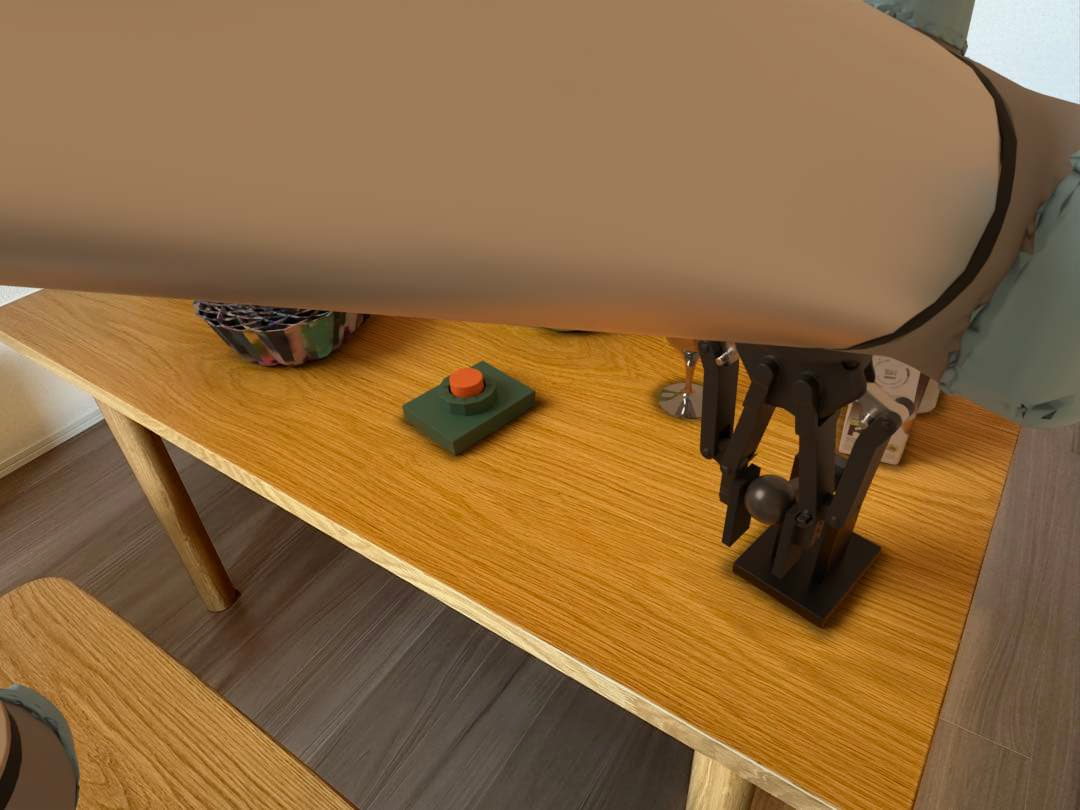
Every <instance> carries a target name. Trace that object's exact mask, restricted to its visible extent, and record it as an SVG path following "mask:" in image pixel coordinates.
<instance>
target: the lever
mask: <svg viewBox="0 0 1080 810" xmlns="http://www.w3.org/2000/svg"><path fill="white" fill-rule="evenodd" d="M847 461H848V457H844V456H842V455H841V454H838V453H836V452H835V474H834V493H835V492H836V489H837V486H838V484H839V481H840V479H841V476H842V473H843V471H844V468H845V466H846V463H847ZM798 497H799V477H797V478H794V479H792V480H788V479H786V478H785V477H783V476H781V475H778V474H772V473H765V474H760V476H759V477H757V478H755V479H754V480H753V481H752V482H751V483H750V484H749V485H748V487H747V489H746V491H745V495H744V502H745V506H746V509H747V511H748V513H749V514H750V515H751V516H752V517H751V518H752V519H754V520H755V521H756V522H758V523H760V524H762V525H767V526H770V525H778V524H782V523H784V520H785V515H786V512H787V511H788V510H789V509H790V508H791V507H792V506H793V505H794V504H795V503H796V502H797V501H798V500H797V498H798Z"/></svg>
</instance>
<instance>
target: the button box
mask: <svg viewBox="0 0 1080 810" xmlns="http://www.w3.org/2000/svg"><path fill="white" fill-rule="evenodd" d="M469 368H473V369H477V370H479V371H480V372H481V373H482V376H483V383H484V389H483V391H482V393H480V394H479V395H477V396H474V397H469V398H460V397H456V396H454V395H453V394H452V392H451V387H450V381H449V378H450V376H451V374H450V375H448V376H446V377H444V378H443V379H442V380H441V382H440V383H439V384H438V385H435V386H434V387H432V388H431V389H429V390H427V391H425V392H424V393H421V394H419V395H418V396H417V397H414V398H413V399H410V400H409V401H408V402H405V403H404V404H402V405H401V407H402V408H401V409H402V413H403V416H404V421H406V422H408V423H410V424H411V425H412V426H413V427H415V428H416V429H418V431H420V432H421V433H423V434H424V435H426V436H427V437H428V438H430V439H431V440H432V441H434V442H435V443H436V444H438V445H439V446H441V447H442V448H443V449H445V450H446V451H448V452H449V453H450V454H452V456H455V457H456V456H458V455H460V454H461V453H462V452H464V451H466V450H467V449H468V448H470V447H473V445H475V444H476V443H478V442H480V441H481V440H483V439H485V438H486V437H488V436H489V435H491V434H492V433H494V432H495V431H497V430H498V429H500V428H502V427H503V426H505V425H507V424H509V422H511V421H513V420H515V419H516V418H517V417H519V416H520V415H523V413H525V412H527V411H529V409H532V408H533V407H535V406H536V405H537V401H536V399H537V398H536V390H535V389H533V388H531V387H529V386H527V385H526V384H524V383H523V382H521V381H519V380H517V379H516V378H514V377H512V376H510V374H509V375H508V373H506V372H504V371H502V370H501V369H498V368H496V367H495V366H493V365H492V364H491V363H488V362H487V361H484V360H480V361H479V362H477V363H475V364H473V365H472V366H470V367H469Z"/></svg>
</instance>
